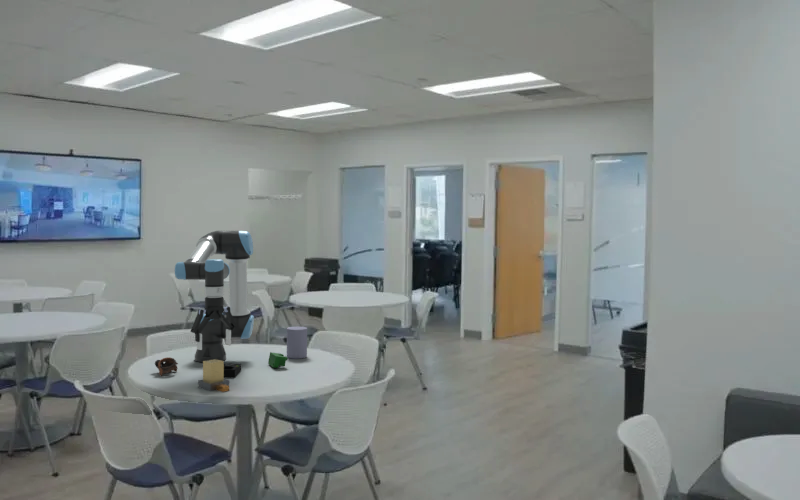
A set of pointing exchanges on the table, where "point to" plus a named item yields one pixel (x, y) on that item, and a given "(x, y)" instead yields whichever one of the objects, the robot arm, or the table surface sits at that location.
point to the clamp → (277, 360)
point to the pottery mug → (166, 365)
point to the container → (296, 342)
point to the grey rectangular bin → (214, 385)
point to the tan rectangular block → (213, 370)
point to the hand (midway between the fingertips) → (214, 347)
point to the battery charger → (231, 370)
